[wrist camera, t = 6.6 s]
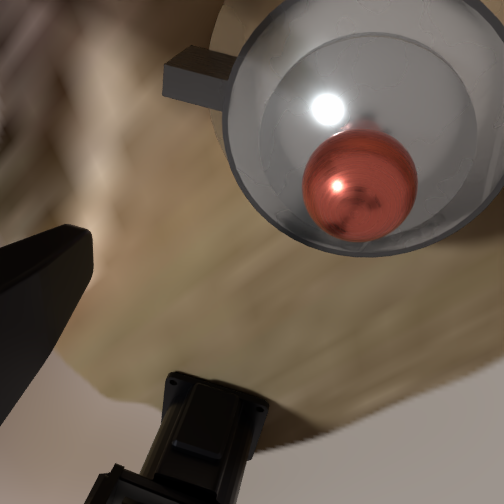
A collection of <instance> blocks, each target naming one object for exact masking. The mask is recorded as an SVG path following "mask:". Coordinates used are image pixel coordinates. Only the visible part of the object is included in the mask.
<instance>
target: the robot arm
mask: <svg viewBox="0 0 504 504" xmlns="http://www.w3.org/2000/svg"><path fill="white" fill-rule="evenodd" d="M93 269H94V263H93V239H92V234H91V232H90V231H89V230H87V229H85V228H81V227H78V226H75V225H71V224H64V225H61V226H58V227H55V228H53V229H50V230H47V231H44V232H42V233H39V234H36V235H33V236H31V237H28V238H25V239H23V240H20V241H17V242H14V243H12V244H9V245H6V246H3V247H1V248H0V426H1V424H2V423H3V422H4V420H5V419H6V417H7V416H8V414H9V413H10V412H11V410H12V408H13V407H14V406H15V404H16V403H17V402H18V400H19V399H20V397H21V396H22V394H23V393H24V391H25V390H26V389H27V387H28V386H29V384H30V383H31V381H32V380H33V379H34V377H35V376H36V374H37V373H38V371H39V370H40V368H41V367H42V366H43V364H44V363H45V361H46V359H47V358H48V356H49V355H50V353H51V352H52V350H53V348H54V346H55V345H56V343H57V341H58V339H59V337H60V336H61V334H62V332H63V330H64V328H65V326H66V324H67V323H68V321H69V319H70V317H71V315H72V313H73V311H74V310H75V308H76V306H77V304H78V302H79V300H80V299H81V297H82V295H83V293H84V291H85V289H86V287H87V286H88V284H89V282H90V280H91V277H92V274H93ZM268 410H269V403H268V402H267V401H265V400H263V399H260V398H257V397H253V396H250V395H247V394H244V393H240V392H237V391H234V390H231V389H227V388H224V387H221V386H218V385H215V384H211V383H208V382H205V381H202V380H198V379H195V378H192V377H189V376H185V375H182V374H179V373H175V372H171V373H169V374H168V376H167V378H166V381H165V391H164V400H163V410H162V420H161V425H160V428H159V430H158V432H157V435H156V437H155V439H154V441H153V444H152V446H151V448H150V451H149V453H148V455H147V458H146V460H145V462H144V464H143V467H142V469H141V471H140V474H136V473H134V472H131V471H129V470H126V469H124V466H121V465H119V464H116V463H115V465H114V467H113V469H112V470H111V472H109V473H104V474H99V476H98V478H97V480H96V482H95V484H94V486H93V488H92V489H91V491H90V493H89V495H88V497H87V499H86V501H85V503H84V504H236V502H237V498H238V494H239V490H240V486H241V482H242V478H243V474H244V470H245V466H246V462H247V461H249V460H251V459H252V457H253V454H254V451H255V448H256V445H257V442H258V439H259V437H260V434H261V431H262V428H263V425H264V422H265V419H266V416H267V413H268Z"/></svg>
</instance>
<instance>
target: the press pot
mask: <svg viewBox="0 0 504 504" xmlns="http://www.w3.org/2000/svg"><path fill="white" fill-rule="evenodd" d="M364 32H385V33H391V34H397V35H402V36H405V37H408V38H411V39H414V40H416V41H418V42H420V43H422V44H424V45H426V46H428V47H430V48H431V49H433V50H434V51H435V52H437V53H438V54H440V55H441V56H442V57H443V58H444V59H445V60H446V61H447V62H448V63H449V64H450V65H451V66H452V67H453V68H454V70H455V71H456V72H457V74H458V75H459V76H460V78H461V80H462V81H463V83H464V85H465V87H466V89H467V91H468V93H469V96H470V98H471V101H472V104H473V107H474V110H475V115H476V121H477V146H476V153H475V156H474V160H473V164H472V166H471V169H470V171H469V173H468V176H467V178H466V180H465V181H464V183H463V185H462V186H461V188H460V190H459V191H458V192H457V193H456V195H455V196H454V197H453V198H452V200H451V201H450V202H449V203H448V204H447V205H446V206H445V207H443V208H442V209H441V210H440V211H439V212H438V213H436V214H435V215H434V216H432V217H431V218H429V219H428V220H426V221H424V222H423V223H421V224H419V225H417V226H415V227H413V228H411V229H408V230H406V231H403V232H400V233H397V234H393V235H388V236H384V237H382V238H379V239H376V240H373V241H368V242H348V241H344V240H340V239H337V238H335V237H333V236H331V235H329V234H327V233H326V232H324V231H323V230H320V229H318V228H316V227H314V226H312V225H310V224H308V223H306V222H305V221H303V220H302V219H300V218H299V217H297V216H296V215H295V214H294V213H292V212H291V211H290V210H289V209H288V208H287V207H286V206H285V205H284V204H283V203H282V202H281V200H280V199H279V198H278V197H277V195H276V194H275V192H274V191H273V189H272V187H271V186H270V184H269V182H268V180H267V177H266V175H265V173H264V169H263V166H262V162H261V156H260V149H259V134H260V127H261V121H262V117H263V114H264V110H265V108H266V106H267V103H268V101H269V98H270V97H271V95H272V93H273V92H274V90H275V88H276V87H277V85H278V83H279V82H280V80H281V79H282V77H283V76H284V75H285V74H286V72H287V71H288V70H289V69H290V68H291V67H292V66H293V65H294V64H295V63H296V62H297V61H298V60H299V59H300V58H301V57H303V56H304V55H305V54H307V53H308V52H310V51H311V50H313V49H314V48H316V47H318V46H320V45H322V44H323V43H325V42H328V41H330V40H333V39H336V38H338V37H342V36H346V35H350V34H354V33H364ZM162 96H165V97H169V98H172V99H176V100H180V101H184V102H188V103H191V104H195V105H199V106H203V107H206V108H209V111H210V116H211V121H212V124H213V127H214V130H215V133H216V136H217V140H218V142H219V144H220V146H221V148H222V150H223V153H224V155H225V157H226V158H227V160H228V162H229V165H230V168H231V171H232V173H233V175H234V177H235V179H236V181H237V183H238V185H239V187H240V188H241V190H242V192H243V193H244V195H245V196H246V198H247V199H248V200H249V202H250V203H251V204H252V205H253V207H254V208H255V209H256V210H257V211H258V212H259V213H260V214H261V215H262V216H263V217H264V218H265V219H266V220H267V221H268V222H269V223H271V224H272V225H273V226H274V227H276V228H277V229H278V230H280V231H281V232H283V233H284V234H286V235H288V236H289V237H291V238H292V239H294V240H296V241H298V242H301V243H303V244H305V245H307V246H309V247H312V248H315V249H318V250H321V251H324V252H328V253H333V254H337V255H343V256H351V257H383V256H392V255H397V254H402V253H408V252H411V251H414V250H417V249H421V248H424V247H426V246H429V245H431V244H433V243H436V242H438V241H440V240H442V239H444V238H446V237H448V236H450V235H451V234H453V233H455V232H457V231H458V230H460V229H461V228H462V227H464V226H465V225H466V224H468V223H469V222H471V221H472V220H473V219H474V218H475V217H477V216H478V215H479V214H480V213H481V212H482V211H483V210H484V209H485V208H486V207H487V206H488V205H489V204H490V203H491V202H492V200H493V199H494V198H495V197H496V196H497V195H498V194H499V192H500V191H501V189H502V188H503V186H504V0H225V1H224V4H223V6H222V8H221V10H220V12H219V14H218V17H217V21H216V24H215V27H214V30H213V33H212V37H211V42H210V47H209V49H205V48H201V47H197V46H193V45H191V46H189V47H188V48H186V49H185V50H184V51H182V52H181V53H179V54H178V55H177V56H175V57H174V58H172V59H171V60H170V61H168V62H167V63H165V64H164V74H163V91H162Z"/></svg>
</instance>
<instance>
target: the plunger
mask: <svg viewBox="0 0 504 504" xmlns="http://www.w3.org/2000/svg"><path fill="white" fill-rule="evenodd" d="M476 146H477V121H476V115H475V110H474V107H473V104H472V101H471V98H470V96H469V93H468V91H467V89H466V87H465V85H464V83H463V81H462V80H461V78H460V76H459V75H458V74H457V72H456V71H455V70H454V68H453V67H452V66H451V65H450V64H449V63H448V62H447V61H446V60H445V59H444V58H443V57H442V56H441V55H440V54H438V53H437V52H435V51H434V50H433V49H431V48H430V47H428V46H426V45H424V44H422V43H420V42H418V41H416V40H414V39H411V38H408V37H405V36H402V35H397V34H391V33H385V32H364V33H354V34H350V35H346V36H342V37H338V38H336V39H333V40H330V41H328V42H325V43H323V44H322V45H320V46H318V47H316V48H314V49H313V50H311V51H310V52H308V53H307V54H305V55H304V56H303V57H301V58H300V59H299V60H298V61H297V62H296V63H295V64H294V65H293V66H292V67H291V68H290V69H289V70H288V71H287V72H286V74H285V75H284V76H283V77H282V79H281V80H280V82H279V83H278V85H277V87H276V88H275V90H274V92H273V93H272V95H271V97H270V98H269V101H268V103H267V106H266V108H265V110H264V114H263V117H262V121H261V127H260V134H259V149H260V156H261V162H262V166H263V169H264V173H265V175H266V177H267V180H268V182H269V184H270V186H271V187H272V189H273V191H274V192H275V194H276V195H277V197H278V198H279V199H280V200H281V202H282V203H283V204H284V205H285V206H286V207H287V208H288V209H289V210H290V211H291V212H292V213H294V214H295V215H296V216H297V217H299V218H300V219H302V220H303V221H305V222H306V223H308V224H310V225H312V226H314V227H316V228H318V229H320V230H323V231H324V232H326V233H327V234H329V235H331V236H333V237H335V238H337V239H340V240H344V241H348V242H368V241H373V240H376V239H379V238H382V237H384V236H388V235H393V234H397V233H400V232H403V231H406V230H408V229H411V228H413V227H415V226H417V225H419V224H421V223H423V222H424V221H426V220H428V219H429V218H431V217H432V216H434V215H435V214H436V213H438V212H439V211H440V210H441V209H442V208H443V207H445V206H446V205H447V204H448V203H449V202H450V201H451V200H452V198H453V197H454V196H455V195H456V193H457V192H458V191H459V190H460V188H461V186H462V185H463V183H464V181H465V180H466V178H467V176H468V173H469V171H470V169H471V166H472V164H473V160H474V156H475V153H476Z"/></svg>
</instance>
